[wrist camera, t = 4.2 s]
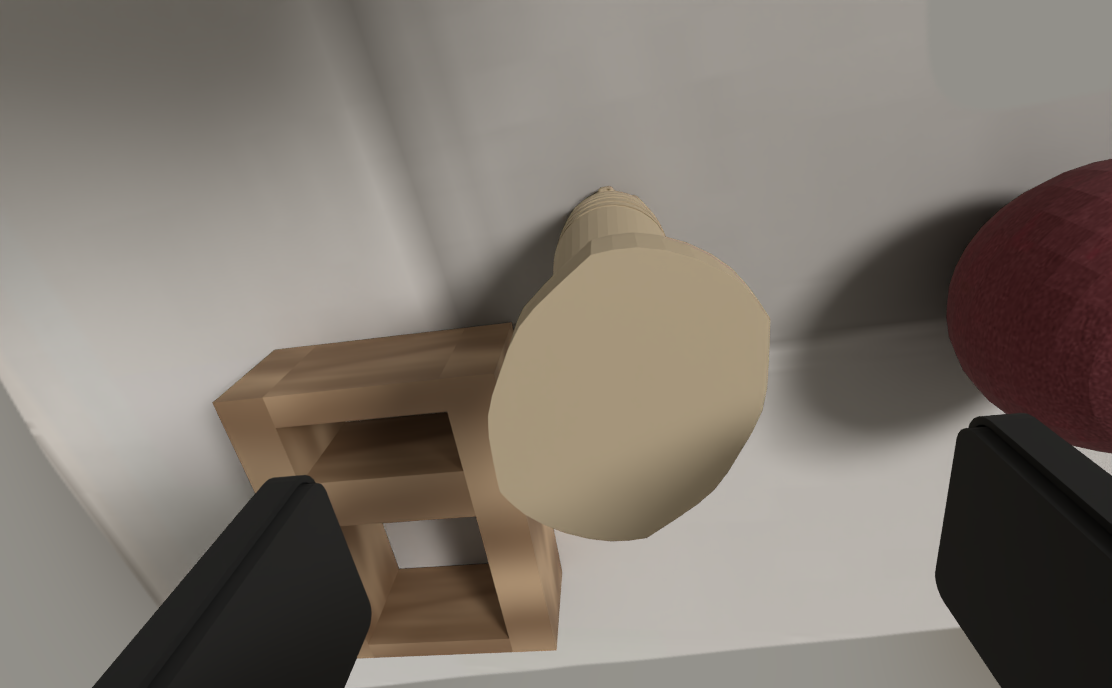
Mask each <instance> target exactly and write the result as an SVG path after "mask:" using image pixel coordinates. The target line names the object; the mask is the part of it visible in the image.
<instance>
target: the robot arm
mask: <svg viewBox="0 0 1112 688" xmlns="http://www.w3.org/2000/svg"><path fill="white" fill-rule="evenodd" d="M935 578H936V584H937V588H938V591H939V593H940V596H941V598H942V599H943V601H944V603H945V604H946V606H947V607H948V609H949V610H950V612H951V613H952V615H953V616H954V618H955V619H956V621H957V622H958V624H959V625H960V627H961V628H962V630H963V631H964V633H965V634H966V636H967V637H968V639H969V640H970V642H971V643H972V644H973V646H974V647H975V649H976V650H977V652H978V653H979V655H980V657H981V658H982V659H983V661H984V663H985V664H986V666H987V667H988V668H989V670H990V672H991V673H992V675H993V676H994V677H995V679H996V680H997V682H998V683H999V685H1000V686H1001V688H1112V476H1111V475H1110V474H1109V473H1107V472H1106V471H1105V470H1103V469H1102V468H1101V467H1100V466H1098V465H1097V464H1096V463H1094V462H1093V461H1092V460H1090V459H1089V458H1088V457H1086V456H1085V455H1084V454H1082V453H1081V452H1080V451H1078V450H1077V449H1076V448H1075V447H1073V446H1072V445H1071V444H1069V443H1068V442H1067V441H1065V440H1064V439H1063V438H1061V437H1060V436H1059V435H1057V434H1056V433H1055V432H1053V431H1052V430H1051V429H1050V428H1048V427H1047V426H1046V425H1044V424H1043V423H1042V422H1040V421H1039V420H1038V419H1036V418H1035V417H1033V416H1031V415H1029V414H1027V413H1013V414H1002V415H990V416H979V417H976V418H974V419H973V420H972V421H971V423H970V424H969V428H965V429H962V430H961V431H960V432H959V433H958V436H957V439H956V446H955V452H954V458H953V464H952V471H951V477H950V483H949V489H948V496H947V502H946V508H945V514H944V521H943V527H942V533H941V539H940V546H939V552H938V558H937V564H936V571H935ZM371 617H372V610H371V604H370V601H369V599H368V596H367V593H366V591H365V588H364V586H363V583H362V581H361V578H360V576H359V573H358V571H357V568H356V565H355V563H354V560H353V558H352V555H351V553H350V550H349V548H348V545H347V542H346V540H345V537H344V535H343V532H342V530H341V527H340V525H339V522H338V519H337V517H336V514H335V512H334V509H333V507H332V504H331V502H330V499H329V497H328V494H327V491H326V489H325V488H324V486H323V485H322V484H320V483H316V482H315V481H314V479H313V478H312V477H311V476H308V475H297V476H285V477H274V478H271V479H268V480H267V481H266V482H265V483H264V484H263V485H262V486H261V487H260V489H259V490H258V491H257V492H256V493H255V494H254V496H253V497H252V498H251V499H250V500H249V502H248V503H247V504H246V505H245V506H244V508H243V509H242V510H241V511H240V512H239V513H238V515H237V516H236V517H235V518H234V519H233V521H232V522H231V523H230V524H229V525H228V527H227V528H226V529H225V530H224V531H223V533H222V534H221V535H220V536H219V537H218V538H217V540H216V541H215V542H214V543H213V544H212V546H211V547H210V548H209V549H208V550H207V552H206V553H205V554H204V555H203V556H202V557H201V559H200V560H199V561H198V562H197V563H196V565H195V566H194V567H193V568H192V569H191V571H190V572H189V573H188V574H187V575H186V577H185V578H184V579H183V580H182V581H181V582H180V584H179V585H178V586H177V587H176V588H175V590H174V591H173V592H172V593H171V594H170V596H169V597H168V598H167V599H166V600H165V601H164V603H163V604H162V605H161V606H160V607H159V609H158V610H157V611H156V612H155V613H154V615H153V616H152V617H151V618H150V620H149V621H148V622H147V623H146V624H145V625H144V626H143V628H142V629H141V630H140V631H139V633H138V634H137V635H136V636H135V637H134V639H133V640H132V641H131V642H130V643H129V645H127V647H126V648H125V649H124V650H123V651H122V653H121V654H120V655H119V656H118V657H117V659H116V660H115V661H114V662H113V663H112V665H111V666H110V667H109V668H108V669H107V671H106V672H105V673H104V674H103V675H102V677H101V678H100V679H99V680H98V681H97V682H96V684H95V685H94V686H93V687H92V688H344V687H345V685H346V683H347V680H348V678H349V676H350V673H351V671H352V668H353V666H354V664H355V661H356V659H357V657H358V654H359V652H360V649H361V647H362V645H363V642H364V640H365V638H366V635H367V633H368V631H369V627H370V624H371Z"/></svg>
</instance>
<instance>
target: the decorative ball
mask: <svg viewBox="0 0 1112 688" xmlns="http://www.w3.org/2000/svg"><path fill="white" fill-rule="evenodd" d="M946 318H947V325H948V333H949V338H950V341H951V343H952V346H953V348H954V350H955V353H956V355H957V358H958V360H959V362H960V364H961V367H962V369H963V371H964V372H965V373H966V374H967V376H968V377H969V378H970V380H971V381H972V382H973V383H974V385H975V386H976V387H977V388H978V389H979V390H980V392H981V393H982V394H983V395H984V396H985V397H986V398H987V399H988V400H989V401H990V402H991V403H993V404H994V405H995V406H996V407H998V408H999V409H1000V410H1002V411H1003V412H1004V413H1006V414H1013V413H1027V414H1029V415H1031V416H1033V417H1035V418H1036V419H1038V420H1039V421H1040V422H1042V423H1043V424H1044V425H1046V426H1047V427H1048V428H1050V429H1051V430H1052V431H1053V432H1055V433H1056V434H1057V435H1059V436H1060V437H1061V438H1063V439H1064V440H1065V441H1067V442H1068V443H1069V444H1071V445H1072V446H1076V447H1081V448H1086V449H1090V450H1095V451H1100V452H1106V453H1112V159H1109V160H1104V161H1099V162H1094V163H1091V164H1088V165H1085V166H1082V167H1079V168H1076V169H1073V170H1070V171H1067V172H1064V173H1062V174H1060V175H1058V176H1056V177H1054V178H1052V179H1050V180H1048V181H1046V182H1044V183H1042V184H1040V185H1038V186H1036V187H1034V188H1032V189H1030V190H1028V191H1026V192H1024V193H1023V194H1021V195H1020V196H1018V197H1017V198H1016V199H1014V200H1013V201H1011V202H1010V203H1008V204H1007V205H1006V206H1004V207H1003V208H1001V209H1000V210H999V211H998V212H997V213H996V214H995V215H994V216H993V217H992V218H991V219H990V220H989V221H987V222H986V223H985V224H984V225H983V226H982V227H981V229H980V230H979V231H978V232H977V234H976V235H975V236H974V237H973V239H972V240H971V241H970V243H969V244H968V245H967V246H966V248H965V250H964V252H963V254H962V256H961V258H960V259H959V261H958V263H957V265H956V267H955V270H954V273H953V276H952V279H951V282H950V285H949V291H948V300H947V315H946Z"/></svg>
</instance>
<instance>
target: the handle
mask: <svg viewBox="0 0 1112 688" xmlns="http://www.w3.org/2000/svg"><path fill="white" fill-rule="evenodd" d="M769 342H770V318H769V316H768V315H767V313H766V312H765V310H764V308H763V307H762V305H761V304H760V302H759V301H758V299H757V298H756V297H755V295H754V294H753V292H752V291H751V290H750V288H749V287H748V286H747V285H746V283H745V282H744V281H743V280H742V279H741V278H740V277H739V276H738V275H737V273H736V272H735V271H734V270H733V269H732V268H730V267H729V266H728V265H726V264H725V263H723V262H722V261H720V260H719V259H717V258H716V257H715V256H713V255H712V254H710V253H708V252H706V251H704V250H701V249H699V248H697V247H695V246H693V245H691V244H688V243H686V242H683V241H679V240H676V239H672V238H668V237H666V236H665V234H664V231H663V229H662V227H661V225H660V223H659V221H658V220H657V218H656V217H655V216H654V214H653V213H652V212H651V210H650V209H649V208H648V207H647V206H646V205H645V204H644V203H643V202H642V201H641V200H640V199H639V198H638V197H637V196H635V195H629V194H627V193H623V192H618V191H615V190H614V189H613V188H612V187H610V186H607V187H601V188H600V189H599V190H598V192H597V193H596V194H594V195H592V196H590V197H588V198H586V199H585V200H584V201H582V202H581V203H580V204H579V205H578V206H576V207H575V208H574V210H573V211H572V213H571V215H570V216H569V218H568V219H567V221H566V223H565V226H564V228H563V230H562V232H561V234H560V238H559V241H558V245H557V248H556V252H555V256H554V265H553V276H552V277H551V278H550V279H549V280H548V281H547V282H546V283H545V284H544V285H543V286H542V288H541V289H540V290H539V291H538V292H537V293H536V294H535V295H534V296H533V298H532V299H531V300H530V301H529V302H528V303H527V304H526V305H525V306H524V308H523V310H522V312H521V314H520V316H519V318H518V321H517V324H516V327H515V329H514V332H513V335H512V338H511V341H510V344H509V347H508V350H507V353H506V356H505V359H504V362H503V364H502V367H501V370H500V373H499V376H498V379H497V382H496V385H495V388H494V391H493V394H492V397H491V403H490V408H489V413H488V429H489V441H490V446H491V452H492V457H493V463H494V467H495V472H496V477H497V481H498V486H499V491H500V492H501V493H502V495H503V496H504V497H505V498H506V499H507V500H508V501H509V502H510V503H511V504H512V505H514V506H515V507H516V508H517V509H519V510H520V511H521V512H522V513H524V514H525V515H527V516H528V517H530V518H532V519H534V520H536V521H538V522H540V523H541V524H543V525H546V526H548V527H551V528H554V529H556V530H559V531H561V532H564V533H567V534H571V535H575V536H579V537H583V538H588V539H595V540H604V541H629V540H636V539H643V538H647V537H649V536H651V535H652V534H654V533H655V532H657V531H658V530H660V529H661V528H663V527H664V526H666V525H668V524H669V523H671V522H672V521H674V520H675V519H677V518H678V517H680V516H681V515H683V514H684V513H685V512H687V511H688V510H690V509H691V508H693V507H694V506H696V505H697V504H698V503H700V502H701V501H702V500H703V499H704V498H705V497H707V496H708V495H709V494H710V493H711V492H712V491H714V490H715V488H716V487H717V486H718V484H719V483H720V482H721V481H722V479H723V478H724V477H725V475H726V474H727V473H728V471H729V470H730V468H731V466H732V465H733V463H734V461H735V460H736V458H737V456H738V455H739V453H740V451H741V450H742V448H743V447H744V445H745V443H746V442H747V440H748V438H749V437H750V435H751V433H752V432H753V429H754V427H755V425H756V423H757V421H758V419H759V417H760V414H761V412H762V410H763V405H764V400H765V395H766V390H767V380H768V365H769Z"/></svg>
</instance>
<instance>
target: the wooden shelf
mask: <svg viewBox="0 0 1112 688" xmlns="http://www.w3.org/2000/svg"><path fill="white" fill-rule="evenodd" d="M513 332H514V331H513V326H512V322H511V323H502V324H493V325H485V326H476V327H467V328H459V329H450V330H442V331H433V332H424V333H416V334H407V335H398V336H390V337H381V338H372V339H364V340H355V341H347V342H338V343H329V344H321V345H312V346H303V347H295V348H286V349H278V350H274V351H273V352H271V353H270V354H269V355H268V356H267V357H266V358H264V359H263V360H262V361H261V362H260V363H259V364H257V365H256V366H255V367H254V368H253V369H252V370H250V371H249V372H248V373H247V374H246V375H244V376H243V377H242V378H241V379H240V380H239V381H237V382H236V383H235V384H234V385H233V386H232V387H230V388H229V389H228V390H227V391H226V392H225V393H223V394H222V395H221V396H220V397H219V398H217V399H216V400H215V401H214V402H213V405H214V407H215V409H216V411H217V414H218V416H219V418H220V420H221V422H222V424H223V426H224V428H225V430H226V433H227V435H228V437H229V439H230V441H231V443H232V445H233V447H234V449H235V452H236V454H237V456H238V458H239V460H240V462H241V464H242V466H243V468H244V470H245V473H246V475H247V477H248V479H249V481H250V483H251V485H252V487H253V489H254V492H255V493H256V492H257V491H258V490H259V489H260V487H261V486H262V485H263V484H264V483H265V482H266V481H267V480H268V479H271V478H274V477H285V476H297V475H308V476H311V477H312V478H313V479H314V481H315V482H316V483H320V484H322V485H323V486H324V488H325V489H326V491H327V494H328V497H329V499H330V502H331V504H332V507H333V509H334V512H335V514H336V517H337V519H338V522H339V525H340V527H341V530H342V532H343V535H344V537H345V540H346V542H347V545H348V548H349V550H350V553H351V555H352V558H353V560H354V563H355V565H356V568H357V571H358V573H359V576H360V578H361V581H362V583H363V586H364V588H365V591H366V593H367V596H368V599H369V601H370V604H371V610H372V617H371V624H370V627H369V631H368V633H367V635H366V638H365V640H364V642H363V645H362V647H361V649H360V652H359V654H358V657H357V658H379V657H404V656H428V655H453V654H477V653H502V652H526V651H551V650H557V636H558V622H559V609H560V595H561V581H562V569H561V564H560V559H559V554H558V549H557V544H556V539H555V534H554V529H553V528H551V527H548V526H546V525H543V524H541V523H540V522H538V521H536V520H534V519H532V518H530V517H528V516H527V515H525V514H524V513H522V512H521V511H520V510H519V509H517V508H516V507H515V506H514V505H512V504H511V503H510V502H509V501H508V500H507V499H506V498H505V497H504V496H503V495H502V493H501V492H500V491H499V486H498V481H497V477H496V472H495V467H494V463H493V457H492V452H491V446H490V441H489V429H488V413H489V408H490V403H491V397H492V394H493V391H494V388H495V385H496V382H497V379H498V376H499V373H500V370H501V367H502V364H503V362H504V359H505V356H506V353H507V350H508V347H509V344H510V341H511V338H512V335H513ZM437 412H445V413H437ZM427 413H434V414H427ZM416 414H424V415H416ZM406 415H414V416H406ZM396 416H403V417H396ZM386 417H393V418H386ZM375 418H383V419H375ZM365 419H372V420H365ZM355 420H362V421H355ZM345 421H352V422H345ZM474 516H476V519H477V522H478V526H479V530H480V533H481V537H482V541H483V544H484V548H485V552H486V555H487V559H488V563H489V564H474V565H458V566H441V567H425V568H409V569H399V568H398V565H397V562H396V559H395V557H394V554H393V551H392V548H391V546H390V543H389V540H388V537H387V535H386V532H385V529H384V526H383V524H382V523H391V522H405V521H419V520H432V519H446V518H460V517H474Z"/></svg>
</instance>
